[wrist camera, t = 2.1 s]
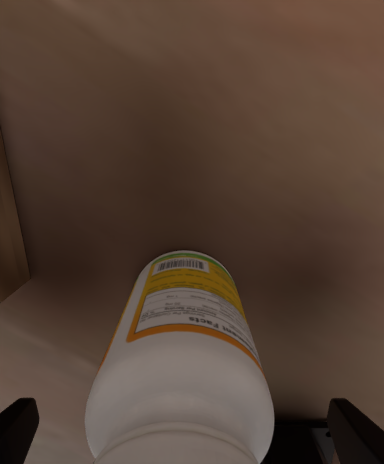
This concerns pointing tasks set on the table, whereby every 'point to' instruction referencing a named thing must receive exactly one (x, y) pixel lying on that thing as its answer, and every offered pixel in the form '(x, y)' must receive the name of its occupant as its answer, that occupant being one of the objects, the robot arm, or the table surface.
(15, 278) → the box
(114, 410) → the supplement bottle
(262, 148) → the table surface
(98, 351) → the table surface
